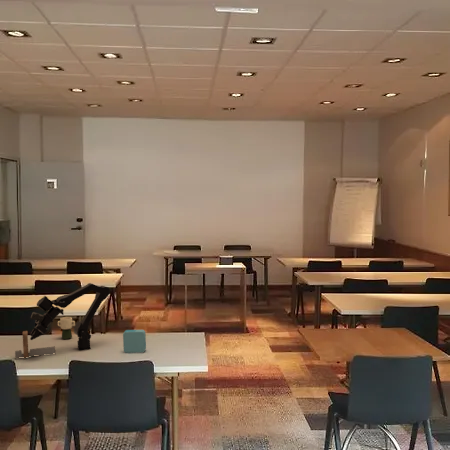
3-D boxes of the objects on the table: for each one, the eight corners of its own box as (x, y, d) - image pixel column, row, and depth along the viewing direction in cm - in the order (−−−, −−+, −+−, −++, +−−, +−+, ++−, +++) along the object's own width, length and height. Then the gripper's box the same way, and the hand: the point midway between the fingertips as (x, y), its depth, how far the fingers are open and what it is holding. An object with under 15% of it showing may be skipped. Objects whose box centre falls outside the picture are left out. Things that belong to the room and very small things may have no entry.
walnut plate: (28, 355, 304) (27, 330, 304) (28, 358, 298) (27, 333, 297) (23, 355, 304) (22, 331, 303) (23, 359, 297) (22, 334, 296)
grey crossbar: (55, 353, 307) (54, 346, 307) (55, 354, 305) (55, 347, 305) (15, 357, 300) (15, 350, 300) (15, 359, 298) (15, 352, 298)
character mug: (77, 337, 342) (76, 316, 342) (73, 340, 335) (72, 319, 334) (60, 337, 343) (59, 316, 342) (56, 340, 336) (55, 319, 335)
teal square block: (146, 350, 309) (145, 329, 308) (144, 352, 304) (144, 331, 303) (125, 350, 309) (124, 329, 308) (123, 353, 304) (122, 331, 304)
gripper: (38, 303, 311) (19, 325, 308) (39, 310, 293) (18, 332, 290) (53, 315, 314) (34, 337, 311) (55, 322, 296) (35, 345, 293)
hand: (30, 337), depth 301 cm, fingers open, 9 cm apart
